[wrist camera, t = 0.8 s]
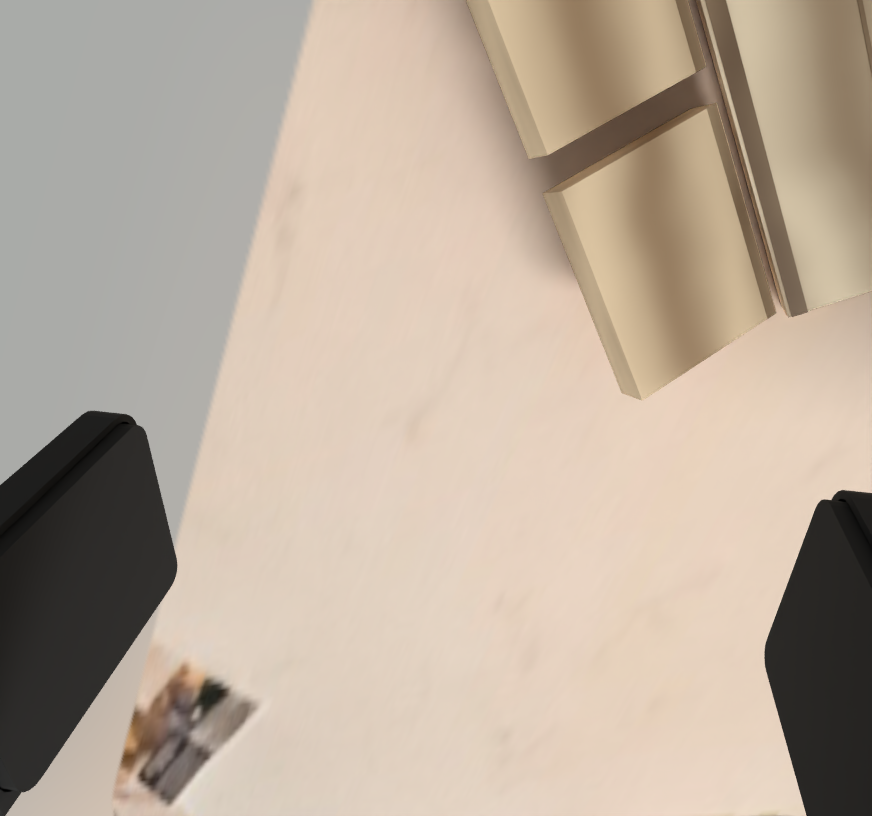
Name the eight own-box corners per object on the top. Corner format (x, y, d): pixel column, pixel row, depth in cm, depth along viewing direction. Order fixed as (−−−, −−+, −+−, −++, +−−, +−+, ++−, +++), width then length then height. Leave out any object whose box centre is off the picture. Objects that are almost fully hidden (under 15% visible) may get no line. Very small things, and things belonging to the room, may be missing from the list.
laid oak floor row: (941, -447, 22) (964, -478, 21) (1025, 226, 31) (1045, 237, 29) (628, -244, 26) (629, -258, 24) (780, 304, 34) (788, 318, 33)
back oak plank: (691, 108, 31) (717, 102, 29) (750, 309, 34) (776, 312, 33) (542, 193, 29) (561, 191, 28) (621, 392, 33) (642, 400, 31)
